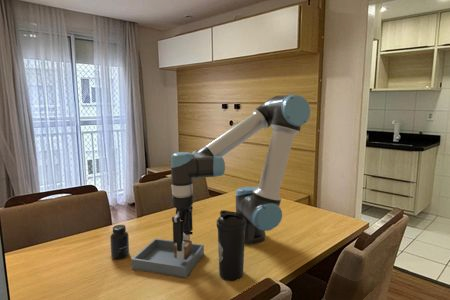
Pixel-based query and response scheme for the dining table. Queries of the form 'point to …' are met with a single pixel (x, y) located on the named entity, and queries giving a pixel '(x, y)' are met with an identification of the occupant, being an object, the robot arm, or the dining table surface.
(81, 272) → the dining table surface
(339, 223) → the dining table surface
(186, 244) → the walnut cube
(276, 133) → the robot arm
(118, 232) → the supplement bottle
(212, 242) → the dining table surface
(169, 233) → the dining table surface
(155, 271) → the tray
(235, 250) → the water bottle
